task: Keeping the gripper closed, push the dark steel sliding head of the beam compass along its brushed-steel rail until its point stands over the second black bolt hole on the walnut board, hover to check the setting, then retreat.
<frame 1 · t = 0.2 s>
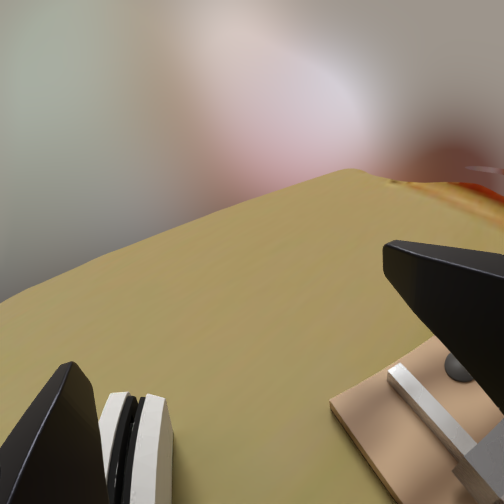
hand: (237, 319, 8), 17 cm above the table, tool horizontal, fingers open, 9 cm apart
hole board: (488, 454, 14), on the table
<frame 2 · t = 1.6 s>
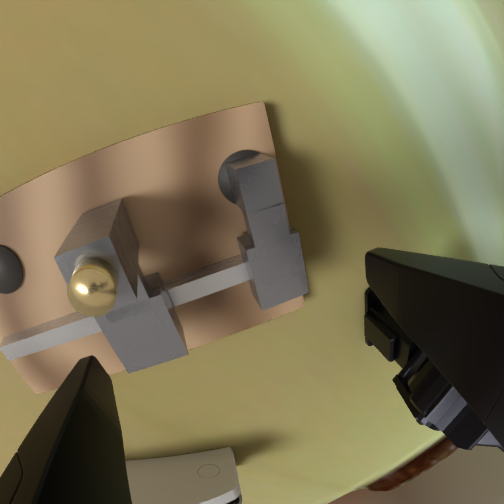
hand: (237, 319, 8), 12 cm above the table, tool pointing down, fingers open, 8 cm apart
sliding head: (125, 303, 15), point 5 cm above the table, slide at 0.0 cm
hole board: (115, 266, 19), on the table
grey curved block: (156, 460, 28), on the table
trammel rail: (115, 283, 17), on the hole board, point 2 cm above the table
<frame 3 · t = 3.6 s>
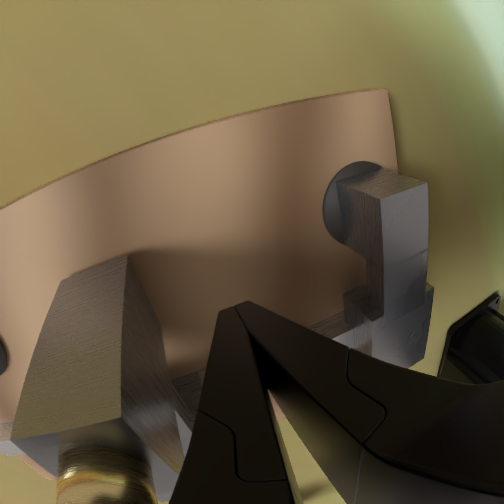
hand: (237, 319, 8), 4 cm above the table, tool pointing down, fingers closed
sliding head: (154, 442, 8), point 5 cm above the table, slide at 1.2 cm, touching gripper
hole board: (149, 338, 12), on the table
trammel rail: (159, 377, 10), on the hole board, point 2 cm above the table
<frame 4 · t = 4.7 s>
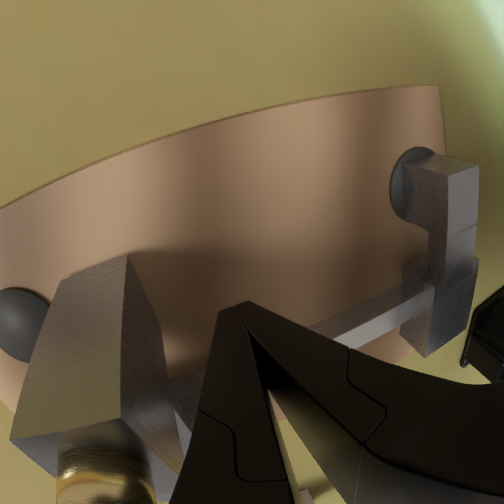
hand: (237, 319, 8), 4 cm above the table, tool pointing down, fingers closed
sliding head: (153, 442, 8), point 5 cm above the table, slide at 4.3 cm, touching gripper
hole board: (220, 312, 13), on the table
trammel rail: (243, 347, 11), on the hole board, point 2 cm above the table
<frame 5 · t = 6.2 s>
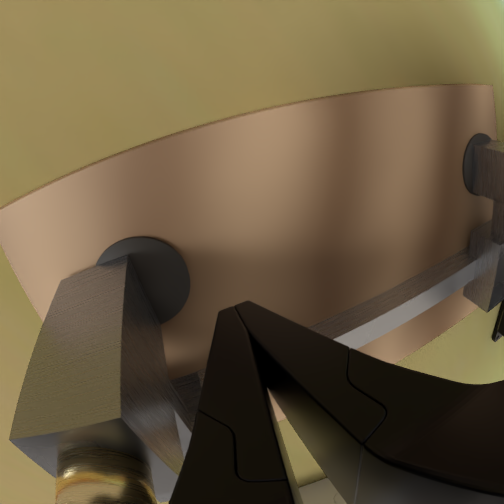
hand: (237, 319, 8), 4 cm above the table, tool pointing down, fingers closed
sliding head: (153, 442, 8), point 5 cm above the table, slide at 9.1 cm, touching gripper
hole board: (329, 270, 14), on the table
grey curved block: (272, 496, 23), on the table
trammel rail: (367, 294, 11), on the hole board, point 2 cm above the table
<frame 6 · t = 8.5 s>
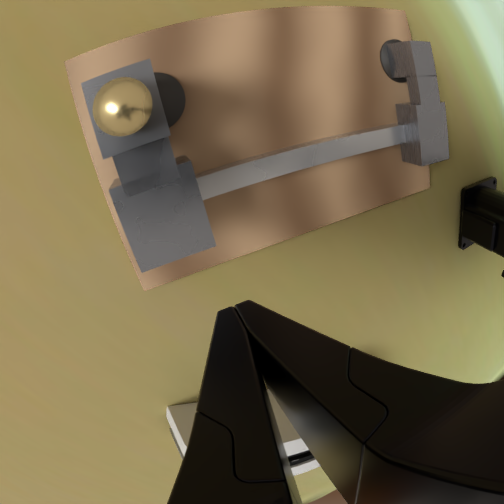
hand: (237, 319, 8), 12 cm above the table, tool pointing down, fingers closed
sliding head: (148, 172, 12), point 5 cm above the table, slide at 9.2 cm
hole board: (282, 121, 18), on the table
grey curved block: (256, 396, 28), on the table
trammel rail: (304, 119, 16), on the hole board, point 2 cm above the table
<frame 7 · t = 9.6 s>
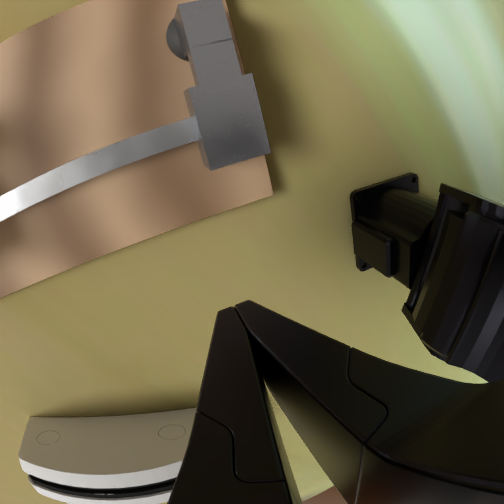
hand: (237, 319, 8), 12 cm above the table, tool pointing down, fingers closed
hole board: (54, 141, 15), on the table
grey curved block: (113, 420, 24), on the table
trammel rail: (44, 141, 13), on the hole board, point 2 cm above the table
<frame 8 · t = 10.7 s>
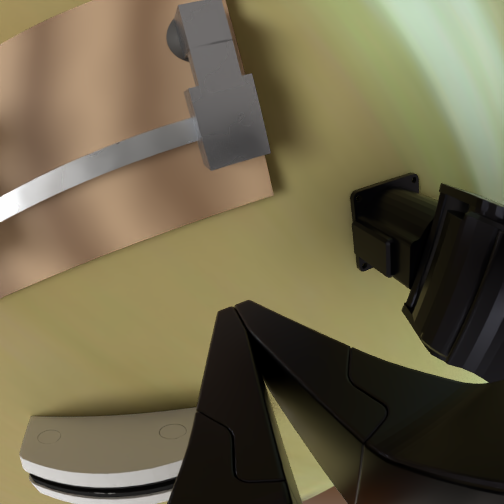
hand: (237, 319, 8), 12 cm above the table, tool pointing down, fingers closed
hole board: (55, 141, 15), on the table
grey curved block: (114, 420, 24), on the table
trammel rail: (45, 141, 13), on the hole board, point 2 cm above the table
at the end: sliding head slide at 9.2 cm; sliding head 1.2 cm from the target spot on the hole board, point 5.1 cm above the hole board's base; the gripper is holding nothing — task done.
